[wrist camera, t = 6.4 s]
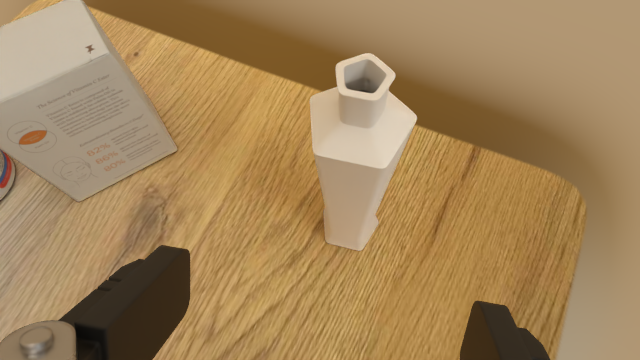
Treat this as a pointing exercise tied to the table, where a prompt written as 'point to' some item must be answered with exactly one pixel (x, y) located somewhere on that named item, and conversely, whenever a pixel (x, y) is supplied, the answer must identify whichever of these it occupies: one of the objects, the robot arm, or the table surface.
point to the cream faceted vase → (357, 146)
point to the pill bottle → (6, 173)
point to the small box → (74, 103)
